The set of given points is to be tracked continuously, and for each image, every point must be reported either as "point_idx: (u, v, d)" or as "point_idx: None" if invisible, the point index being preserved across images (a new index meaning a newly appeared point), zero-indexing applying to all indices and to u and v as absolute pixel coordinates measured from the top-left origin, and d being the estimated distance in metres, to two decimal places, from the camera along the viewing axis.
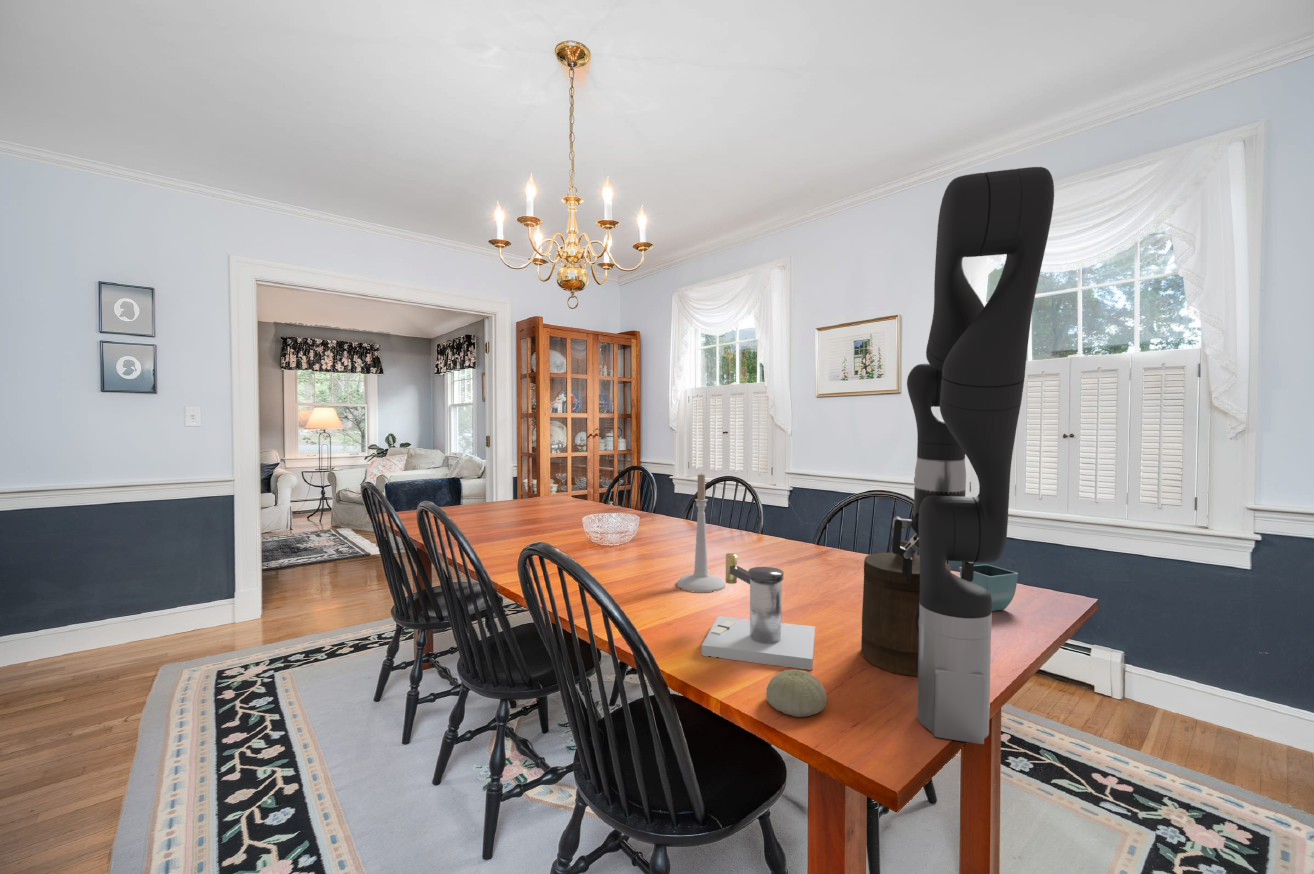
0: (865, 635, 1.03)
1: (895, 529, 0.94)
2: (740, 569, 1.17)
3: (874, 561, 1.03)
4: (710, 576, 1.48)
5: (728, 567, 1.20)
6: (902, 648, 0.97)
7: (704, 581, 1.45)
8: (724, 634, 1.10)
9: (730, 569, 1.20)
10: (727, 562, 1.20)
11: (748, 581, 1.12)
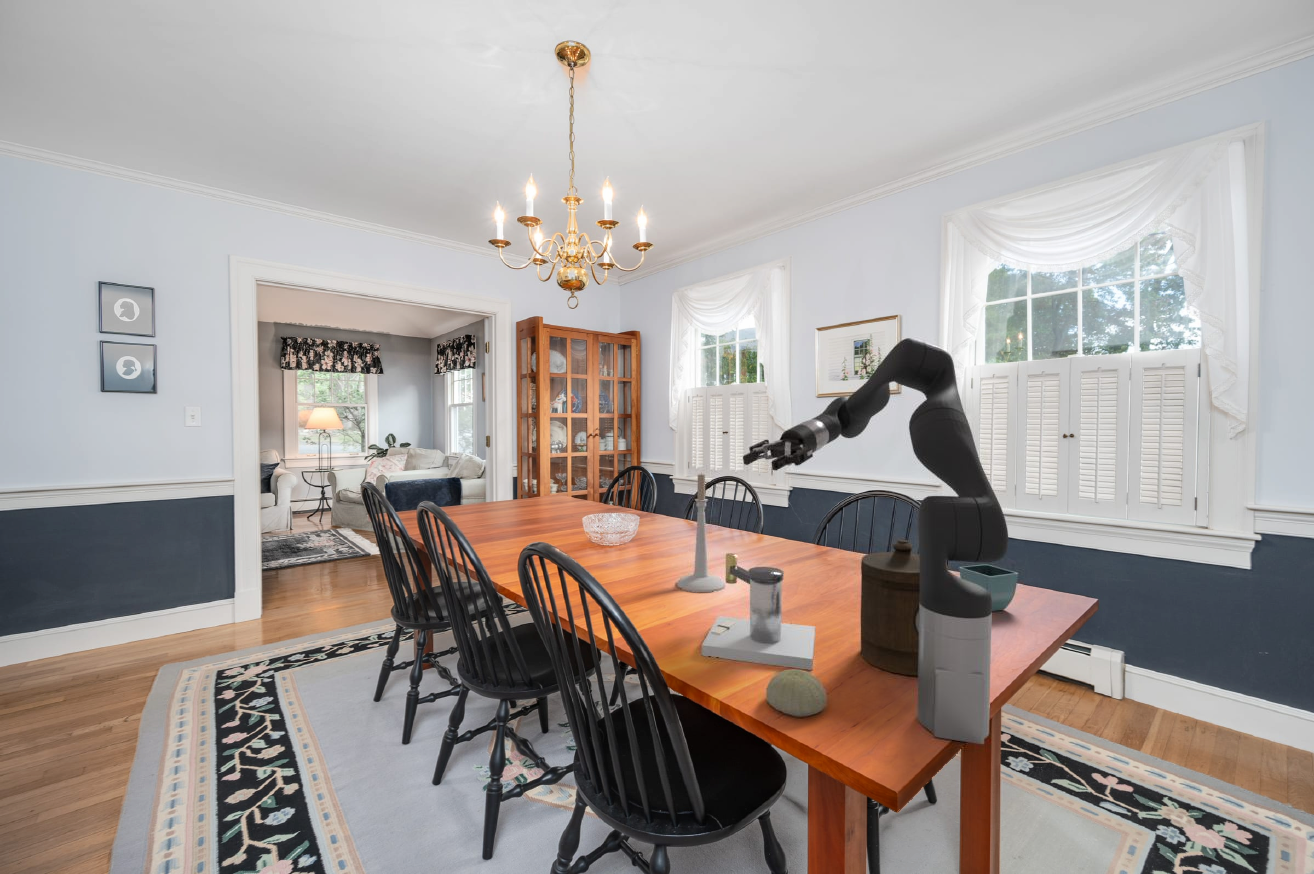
0: (864, 635, 1.03)
1: None
2: (740, 569, 1.17)
3: (871, 561, 1.03)
4: (710, 576, 1.48)
5: (728, 567, 1.20)
6: (901, 648, 0.97)
7: (704, 581, 1.45)
8: (724, 634, 1.10)
9: (730, 569, 1.20)
10: (727, 562, 1.20)
11: (748, 581, 1.12)
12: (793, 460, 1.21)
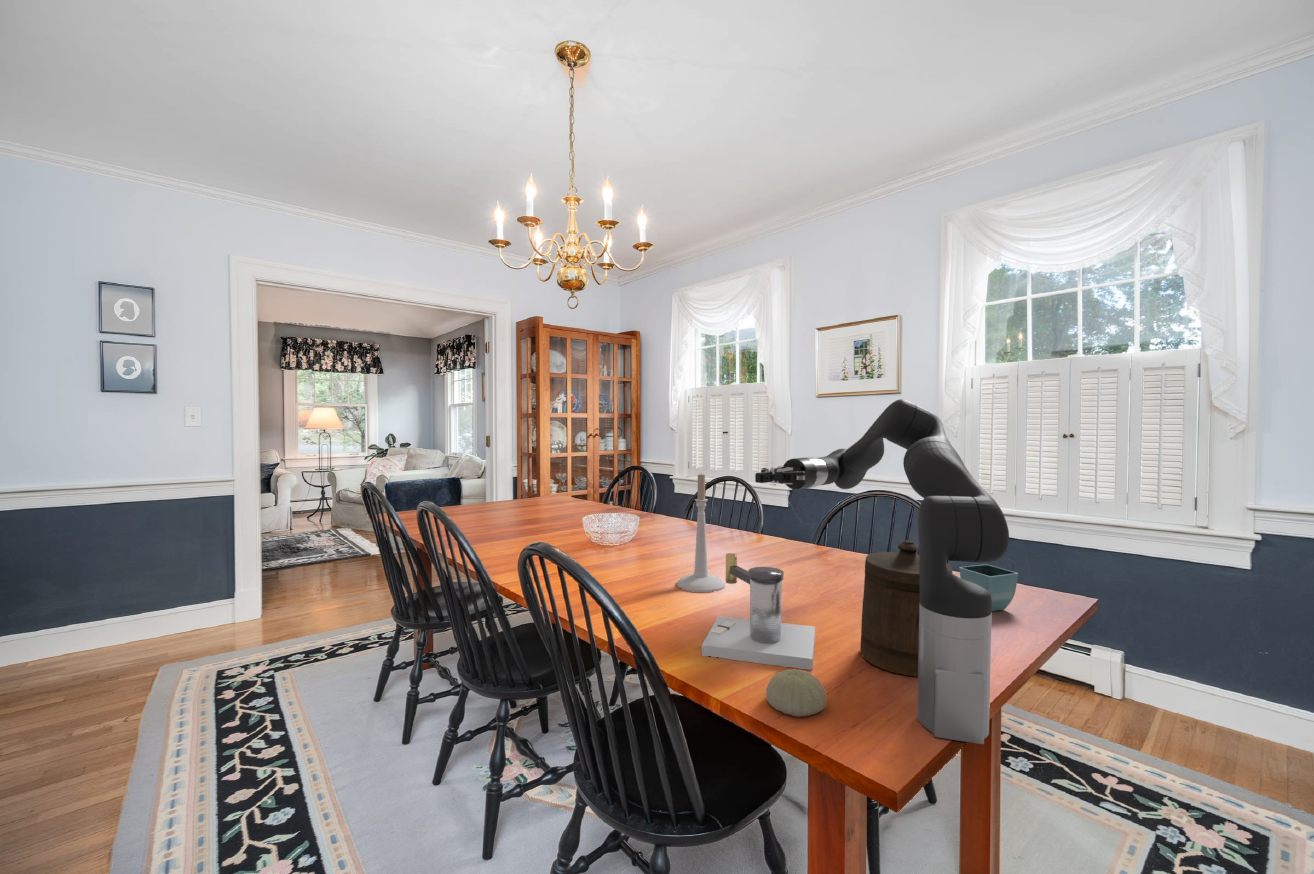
0: (865, 634, 1.02)
1: None
2: (740, 569, 1.17)
3: (876, 560, 1.02)
4: (710, 576, 1.48)
5: (728, 567, 1.20)
6: (902, 648, 0.96)
7: (704, 581, 1.45)
8: (724, 634, 1.10)
9: (730, 569, 1.20)
10: (727, 562, 1.20)
11: (748, 581, 1.12)
12: (778, 477, 1.27)
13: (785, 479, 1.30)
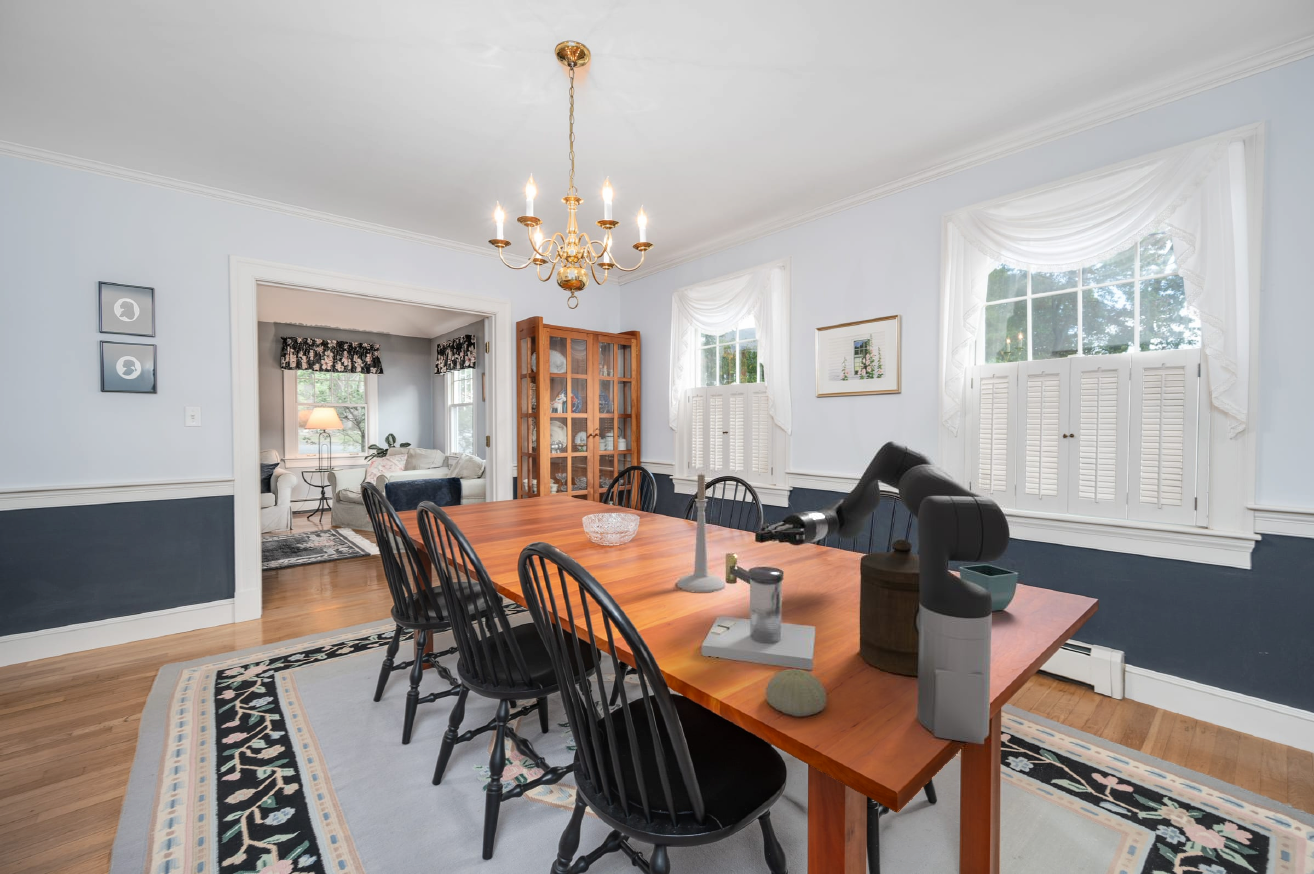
0: (863, 636, 1.02)
1: (762, 524, 1.36)
2: (740, 569, 1.17)
3: (870, 561, 1.03)
4: (710, 576, 1.48)
5: (728, 567, 1.20)
6: (901, 648, 0.96)
7: (704, 581, 1.45)
8: (724, 634, 1.10)
9: (730, 569, 1.20)
10: (727, 562, 1.20)
11: (748, 581, 1.12)
12: (778, 537, 1.28)
13: (785, 537, 1.30)
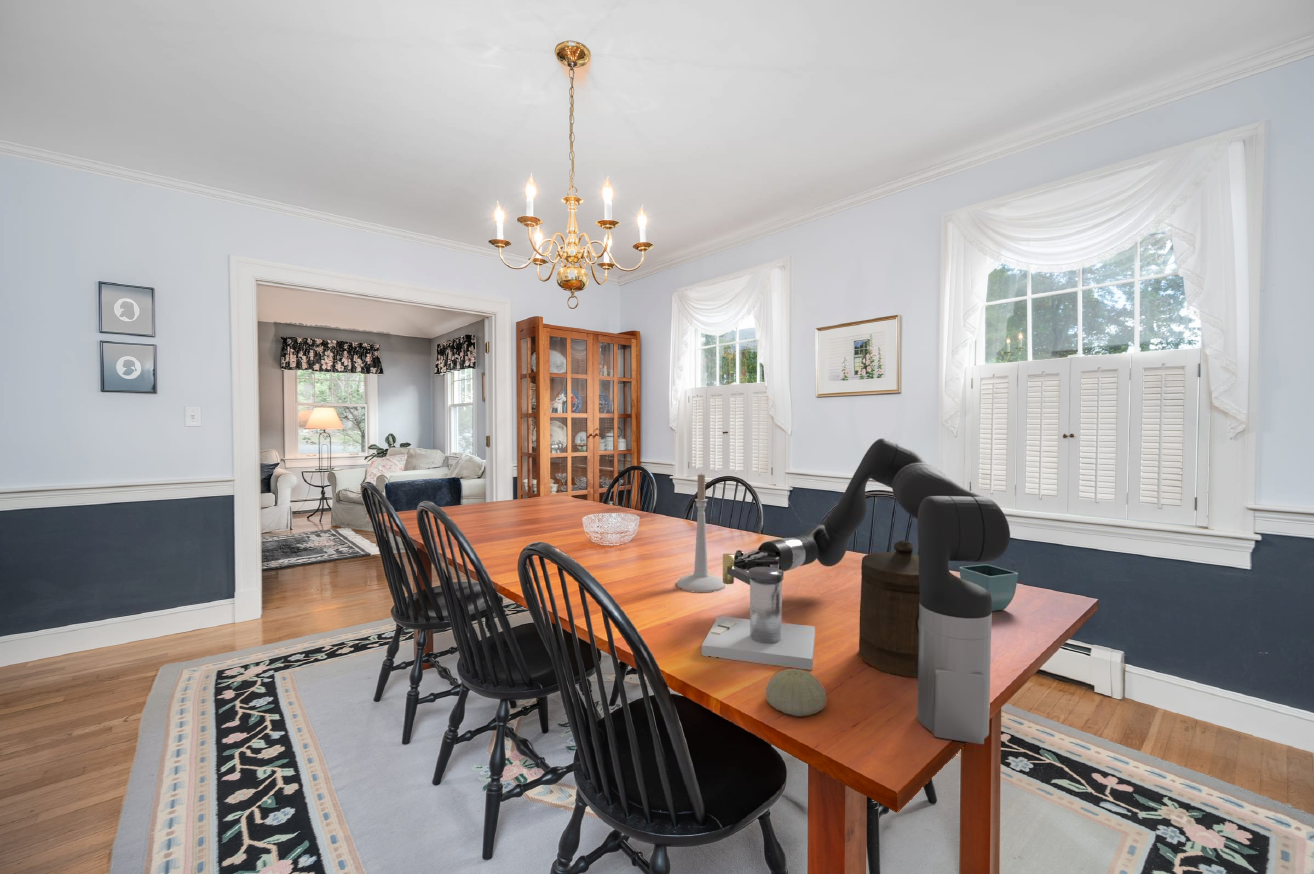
0: (864, 636, 1.02)
1: (737, 552, 1.30)
2: (738, 569, 1.17)
3: (872, 562, 1.02)
4: (710, 576, 1.48)
5: (725, 567, 1.20)
6: (902, 650, 0.96)
7: (704, 581, 1.45)
8: (724, 634, 1.10)
9: (727, 569, 1.19)
10: (724, 562, 1.20)
11: (747, 581, 1.12)
12: (751, 566, 1.23)
13: (759, 566, 1.25)
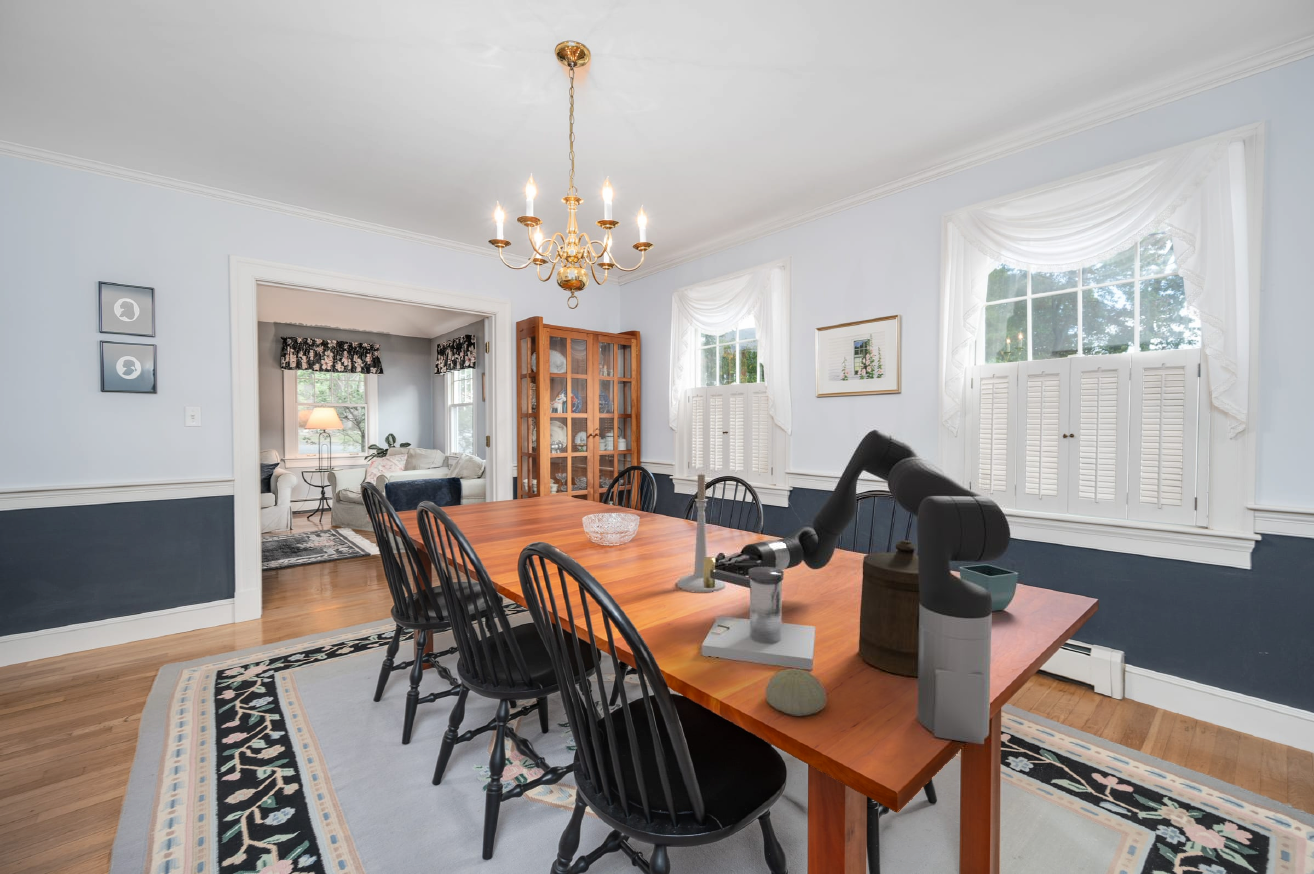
0: (864, 635, 1.02)
1: (719, 554, 1.28)
2: (724, 572, 1.15)
3: (874, 561, 1.02)
4: None
5: (708, 572, 1.16)
6: (903, 649, 0.96)
7: None
8: (724, 634, 1.10)
9: (710, 573, 1.16)
10: (707, 566, 1.16)
11: (741, 583, 1.11)
12: (731, 569, 1.20)
13: (740, 569, 1.22)
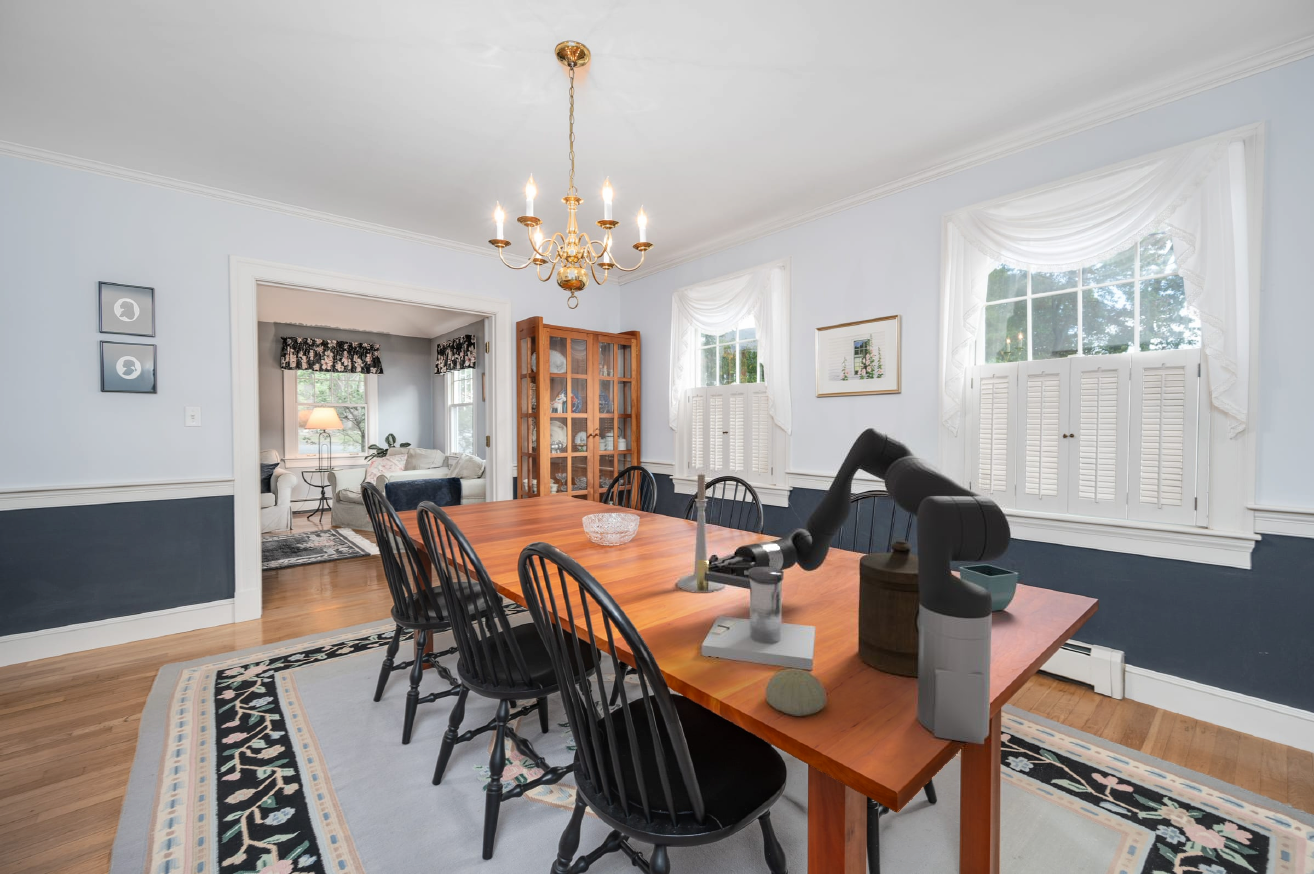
0: (863, 637, 1.02)
1: (711, 556, 1.26)
2: (719, 573, 1.14)
3: (870, 562, 1.02)
4: None
5: (702, 574, 1.14)
6: (902, 649, 0.96)
7: None
8: (724, 634, 1.10)
9: (704, 575, 1.15)
10: (701, 569, 1.15)
11: (739, 584, 1.10)
12: (724, 572, 1.18)
13: (733, 572, 1.20)
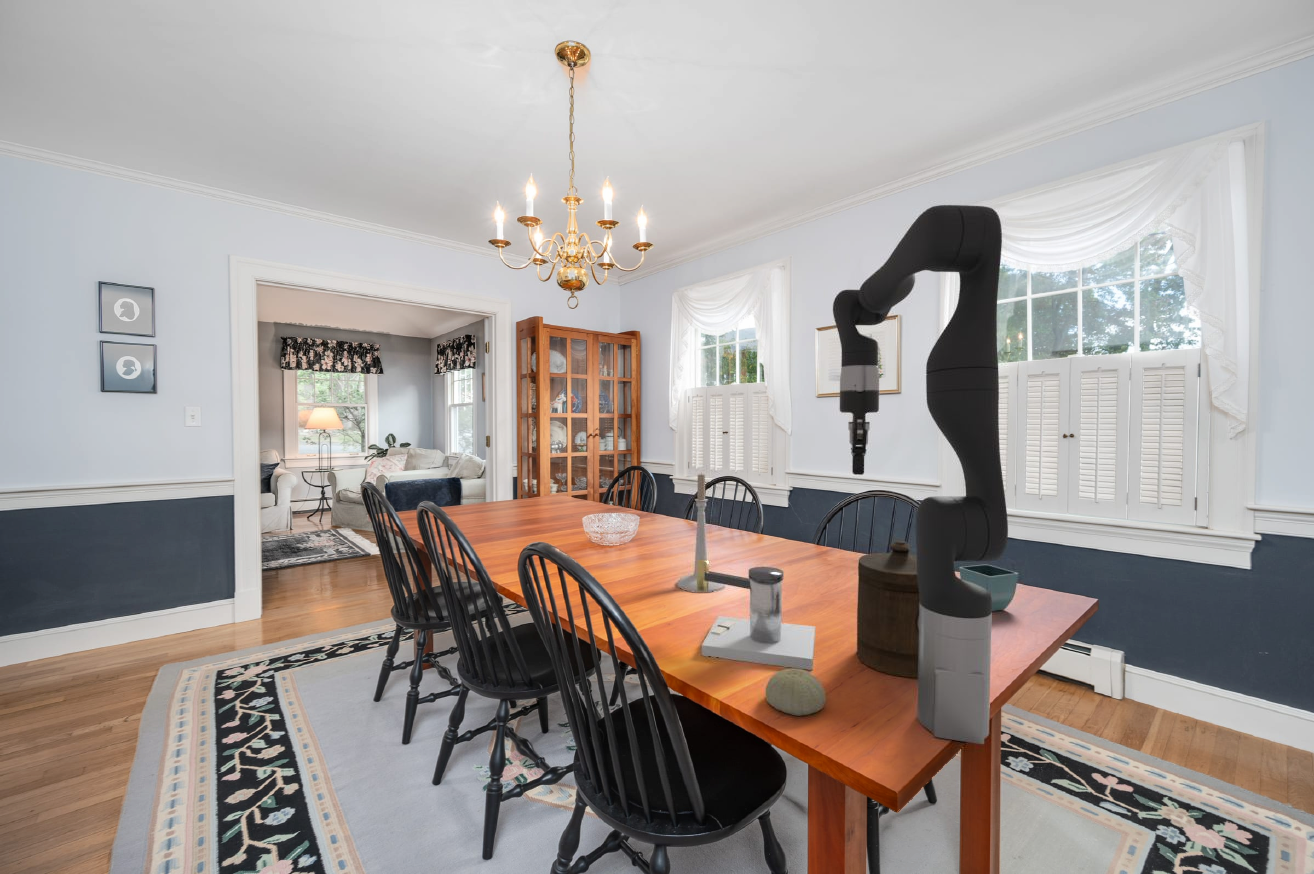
0: (862, 638, 1.01)
1: None
2: (719, 574, 1.14)
3: (870, 563, 1.02)
4: None
5: (702, 574, 1.14)
6: (903, 650, 0.96)
7: None
8: (724, 634, 1.10)
9: (704, 575, 1.15)
10: (701, 569, 1.15)
11: (739, 584, 1.10)
12: (859, 453, 1.12)
13: None
